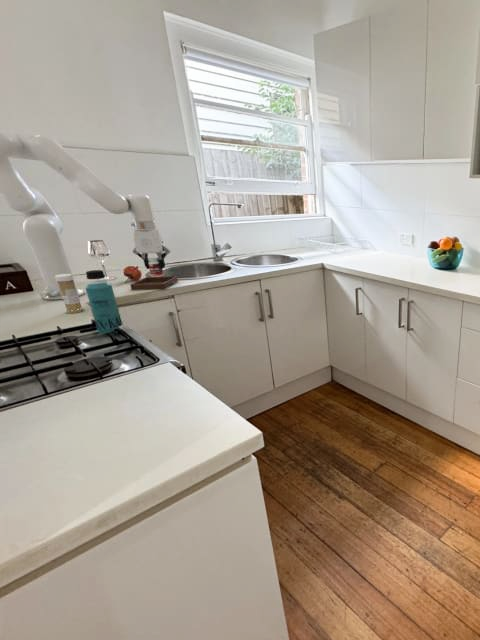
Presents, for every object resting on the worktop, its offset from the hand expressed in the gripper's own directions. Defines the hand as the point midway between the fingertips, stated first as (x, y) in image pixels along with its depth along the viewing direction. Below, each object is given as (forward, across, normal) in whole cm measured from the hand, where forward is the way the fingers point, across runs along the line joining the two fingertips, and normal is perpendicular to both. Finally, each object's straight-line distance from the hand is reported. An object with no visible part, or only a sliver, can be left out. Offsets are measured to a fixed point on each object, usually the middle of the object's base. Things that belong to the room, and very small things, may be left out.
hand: (155, 267), depth 169 cm
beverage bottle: (+9, +11, -62) cm, 64 cm away
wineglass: (+9, -31, +19) cm, 37 cm away
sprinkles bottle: (+9, -14, -35) cm, 39 cm away
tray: (+9, -3, +3) cm, 10 cm away
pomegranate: (+9, -17, +14) cm, 24 cm away
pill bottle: (+4, 0, 0) cm, 4 cm away
